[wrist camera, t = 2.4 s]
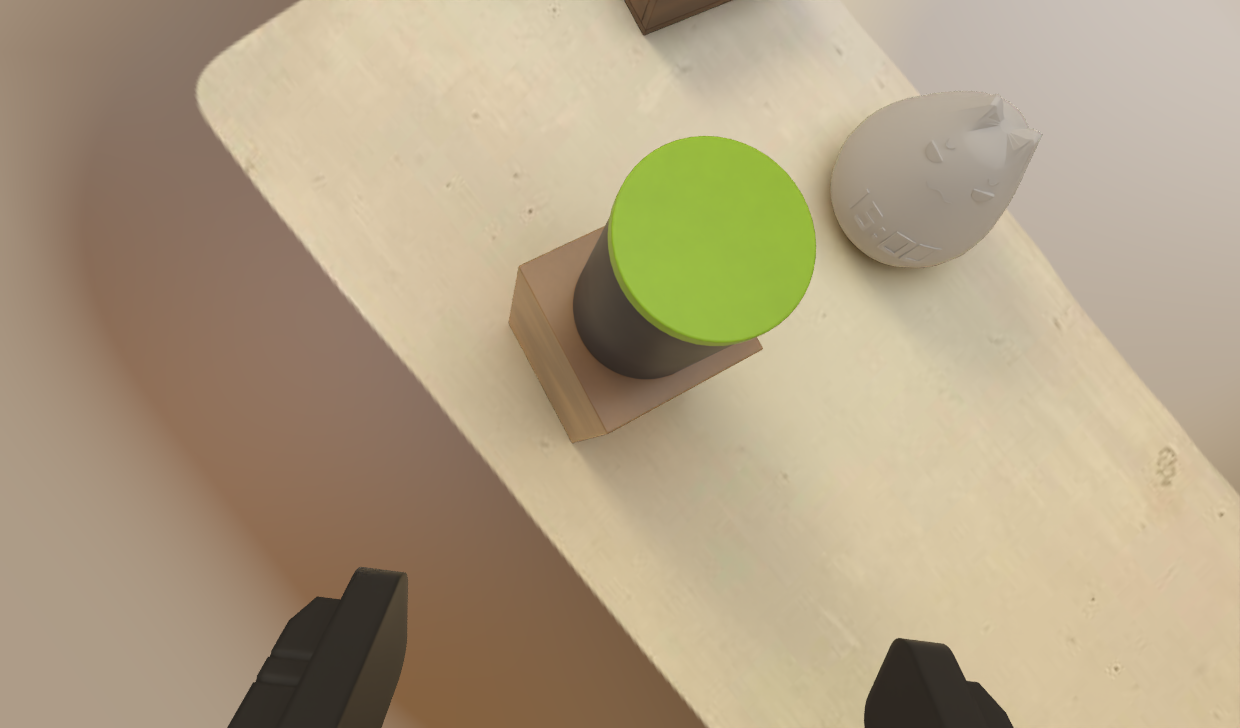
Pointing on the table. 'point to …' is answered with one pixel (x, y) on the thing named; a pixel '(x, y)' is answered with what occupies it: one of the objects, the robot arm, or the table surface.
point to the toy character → (930, 175)
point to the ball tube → (694, 258)
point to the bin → (666, 11)
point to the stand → (566, 366)
